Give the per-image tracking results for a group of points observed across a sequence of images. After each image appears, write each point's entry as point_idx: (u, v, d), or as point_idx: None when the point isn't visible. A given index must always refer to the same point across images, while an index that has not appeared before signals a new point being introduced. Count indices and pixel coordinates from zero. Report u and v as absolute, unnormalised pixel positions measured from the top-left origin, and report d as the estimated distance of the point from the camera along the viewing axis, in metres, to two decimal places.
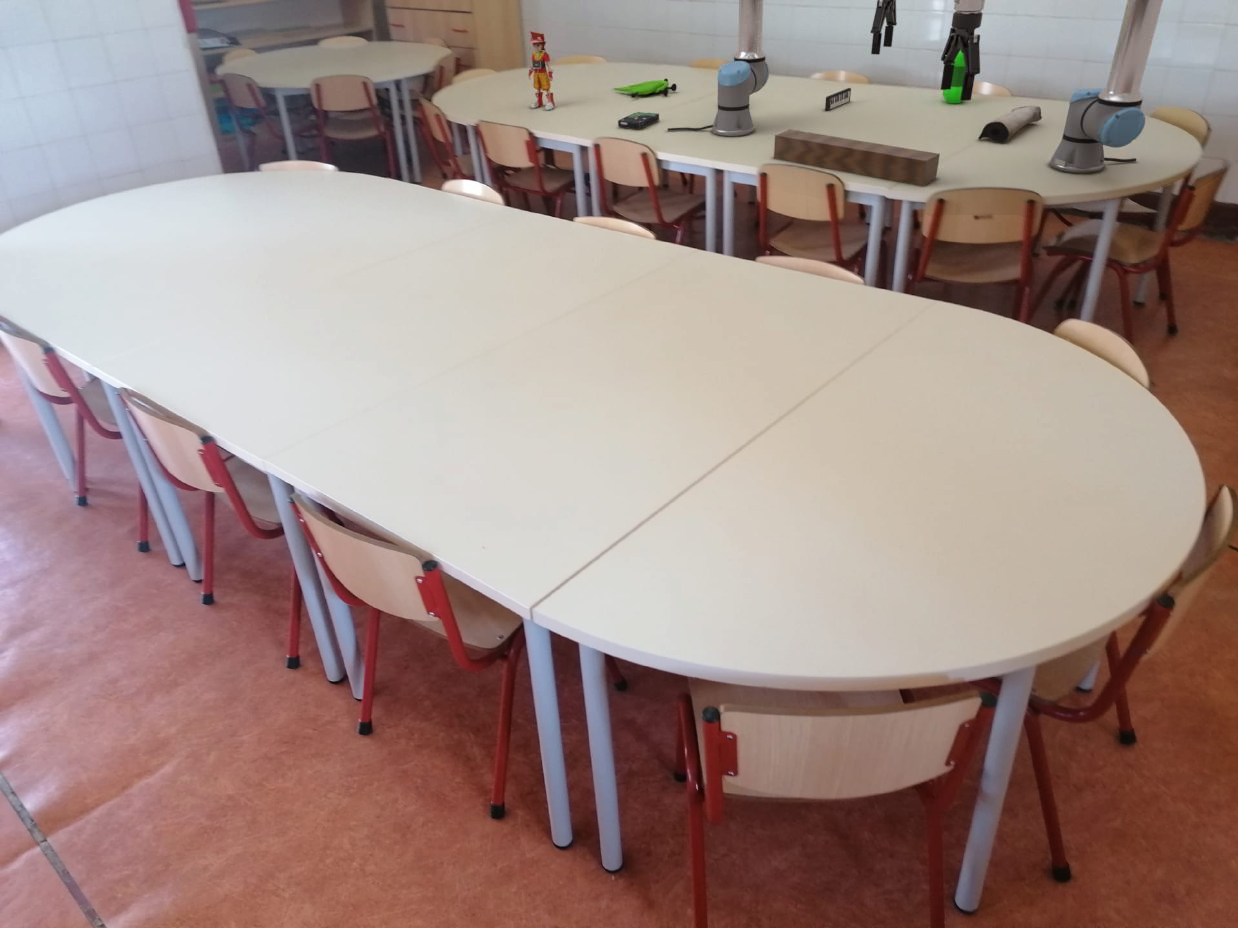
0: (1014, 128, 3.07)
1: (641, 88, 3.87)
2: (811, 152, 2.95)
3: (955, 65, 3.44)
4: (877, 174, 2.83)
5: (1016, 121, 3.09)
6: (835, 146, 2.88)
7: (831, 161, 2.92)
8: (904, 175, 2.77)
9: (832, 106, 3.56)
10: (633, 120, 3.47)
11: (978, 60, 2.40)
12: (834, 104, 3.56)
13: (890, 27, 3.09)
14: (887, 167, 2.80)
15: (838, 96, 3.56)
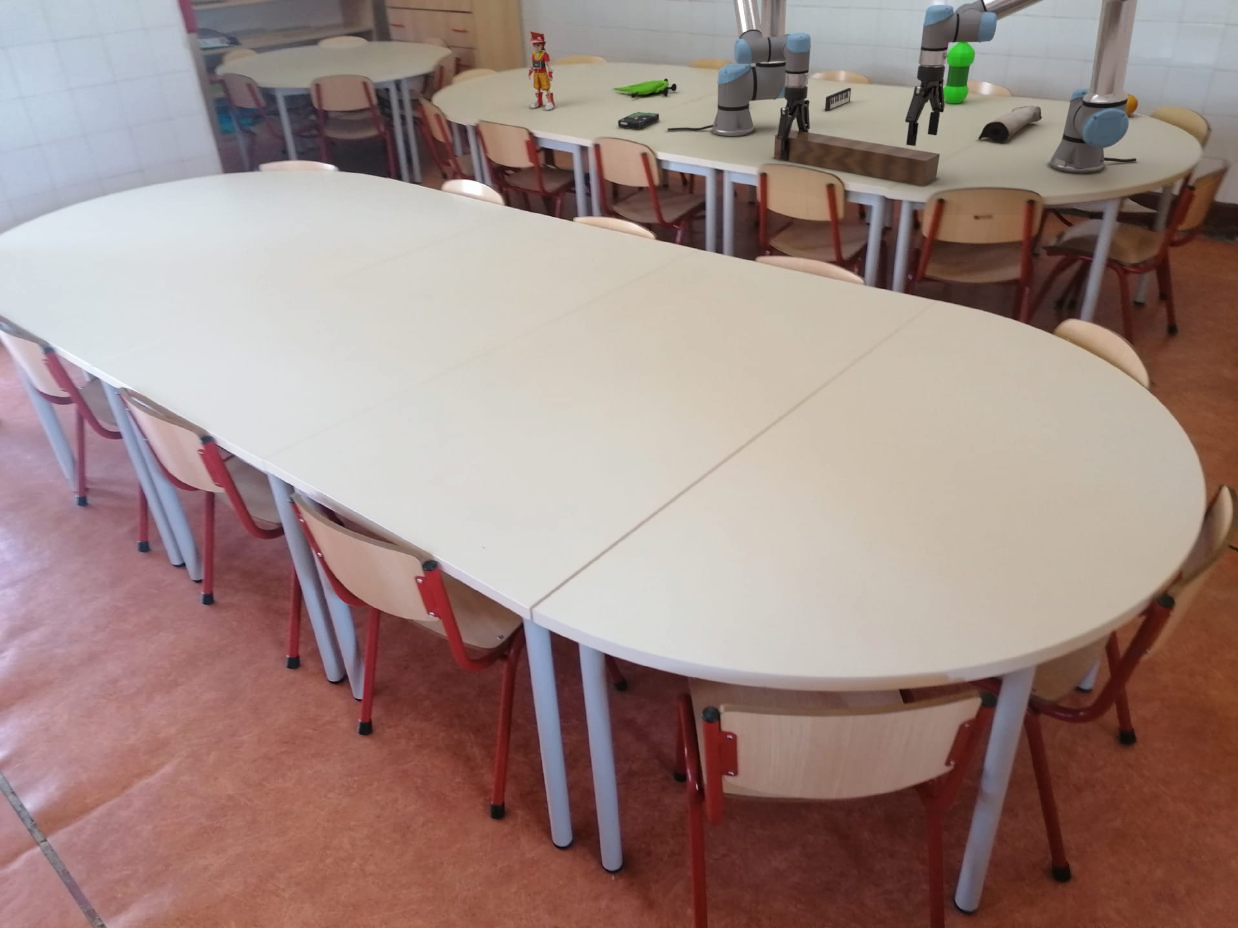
0: (1014, 128, 3.07)
1: (641, 88, 3.87)
2: (811, 152, 2.95)
3: (955, 65, 3.44)
4: (877, 174, 2.83)
5: (1016, 121, 3.09)
6: (835, 146, 2.88)
7: (831, 161, 2.92)
8: (904, 174, 2.77)
9: (832, 106, 3.56)
10: (633, 120, 3.47)
11: None
12: (834, 104, 3.56)
13: None
14: (887, 167, 2.80)
15: (838, 96, 3.56)
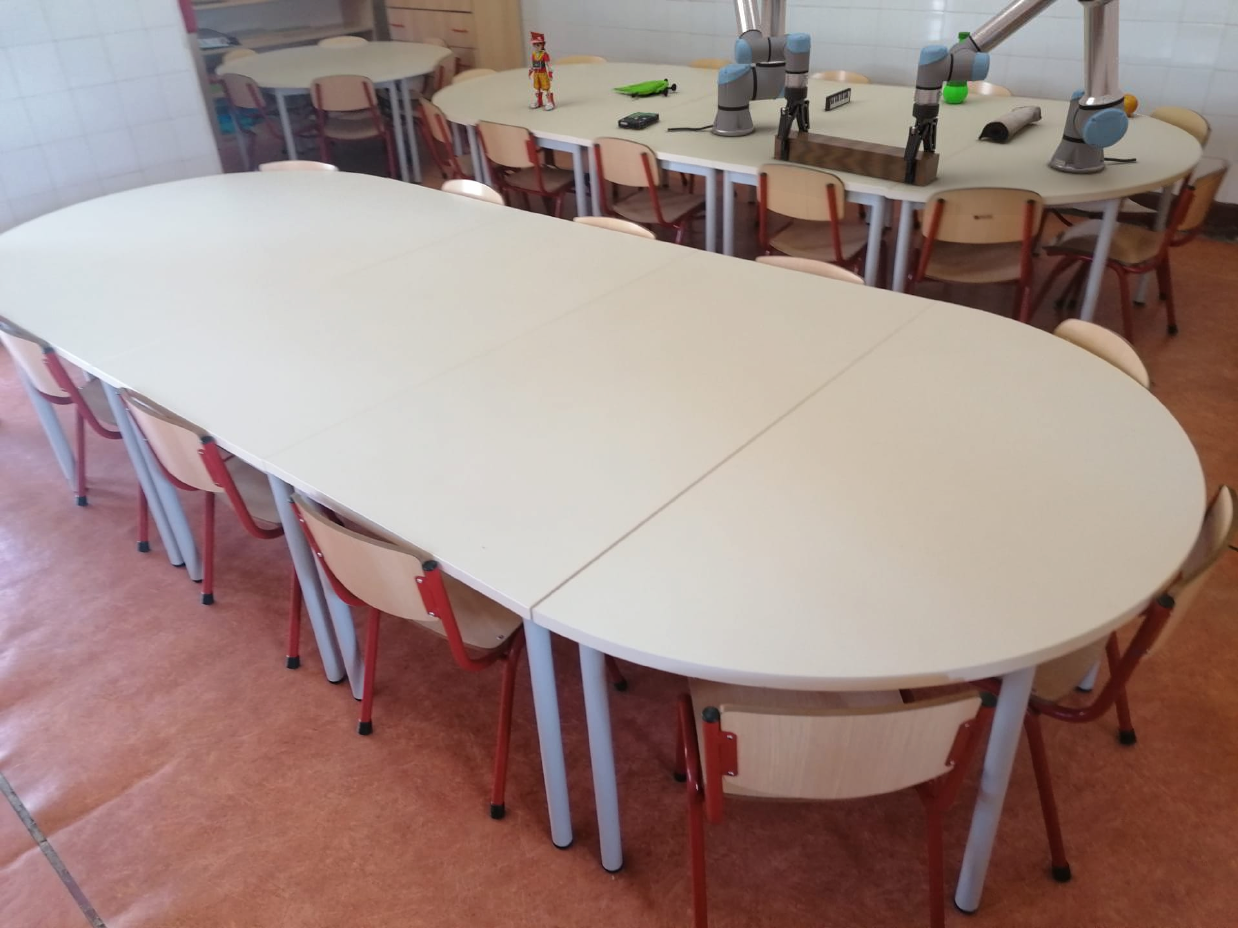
0: (1014, 128, 3.07)
1: (641, 88, 3.87)
2: (811, 152, 2.95)
3: None
4: (877, 174, 2.83)
5: (1016, 121, 3.09)
6: (835, 146, 2.88)
7: (831, 161, 2.92)
8: (904, 174, 2.77)
9: (832, 106, 3.56)
10: (633, 120, 3.47)
11: None
12: (834, 104, 3.56)
13: None
14: (887, 167, 2.80)
15: (838, 96, 3.56)
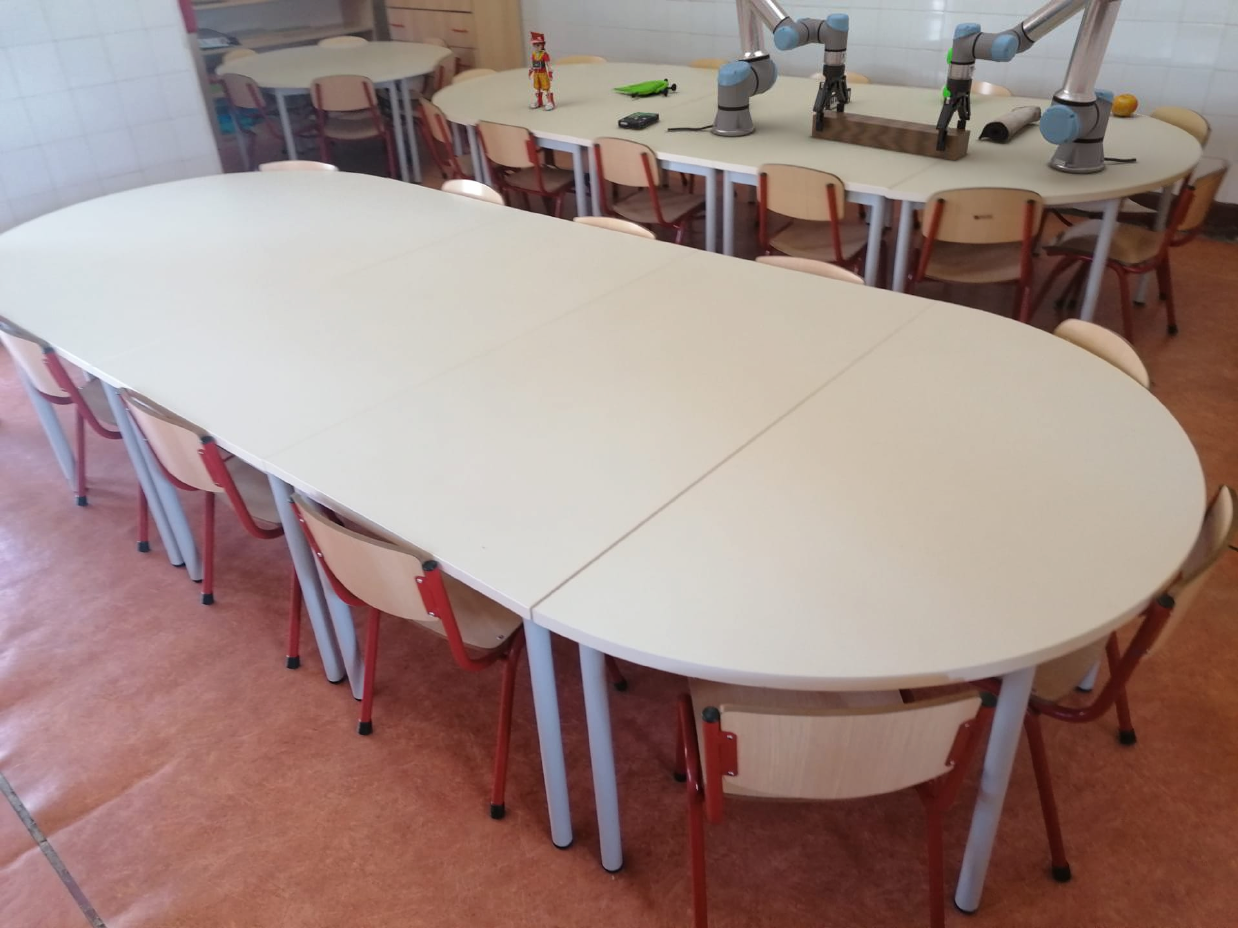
0: (1014, 128, 3.07)
1: (641, 88, 3.87)
2: (848, 130, 3.14)
3: None
4: (911, 150, 3.02)
5: (1016, 121, 3.09)
6: (871, 125, 3.07)
7: (867, 138, 3.11)
8: None
9: (832, 106, 3.56)
10: (633, 120, 3.47)
11: None
12: (834, 104, 3.56)
13: (841, 105, 3.23)
14: (921, 143, 2.99)
15: None
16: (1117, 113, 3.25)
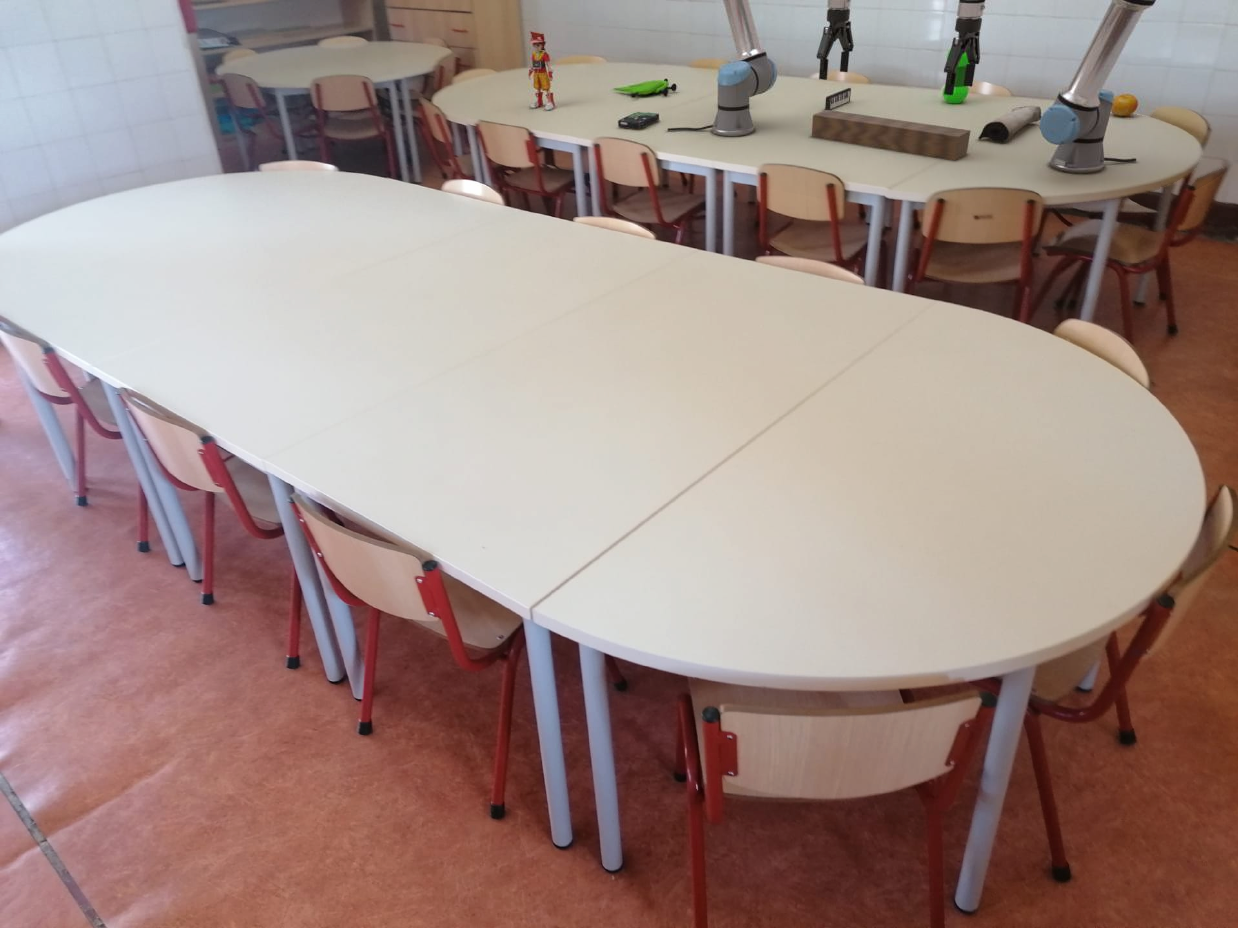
0: (1014, 128, 3.07)
1: (641, 88, 3.87)
2: (848, 130, 3.14)
3: None
4: (911, 150, 3.02)
5: (1016, 121, 3.09)
6: (871, 125, 3.07)
7: (867, 138, 3.11)
8: (937, 150, 2.96)
9: (832, 106, 3.56)
10: (633, 120, 3.47)
11: None
12: (834, 104, 3.56)
13: (845, 53, 3.13)
14: (921, 143, 2.99)
15: (838, 96, 3.56)
16: (1117, 113, 3.25)
